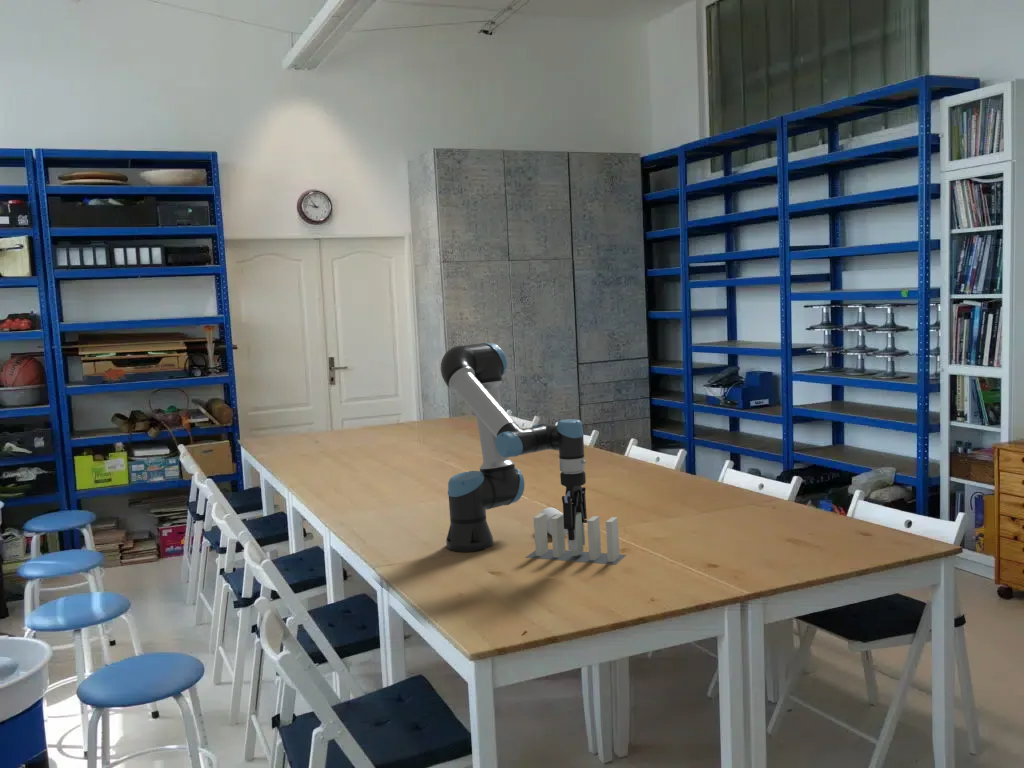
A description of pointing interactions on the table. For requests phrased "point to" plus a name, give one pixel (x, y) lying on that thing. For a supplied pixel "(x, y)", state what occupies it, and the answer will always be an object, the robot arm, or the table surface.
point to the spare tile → (578, 535)
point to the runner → (576, 557)
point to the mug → (550, 514)
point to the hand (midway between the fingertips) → (577, 547)
